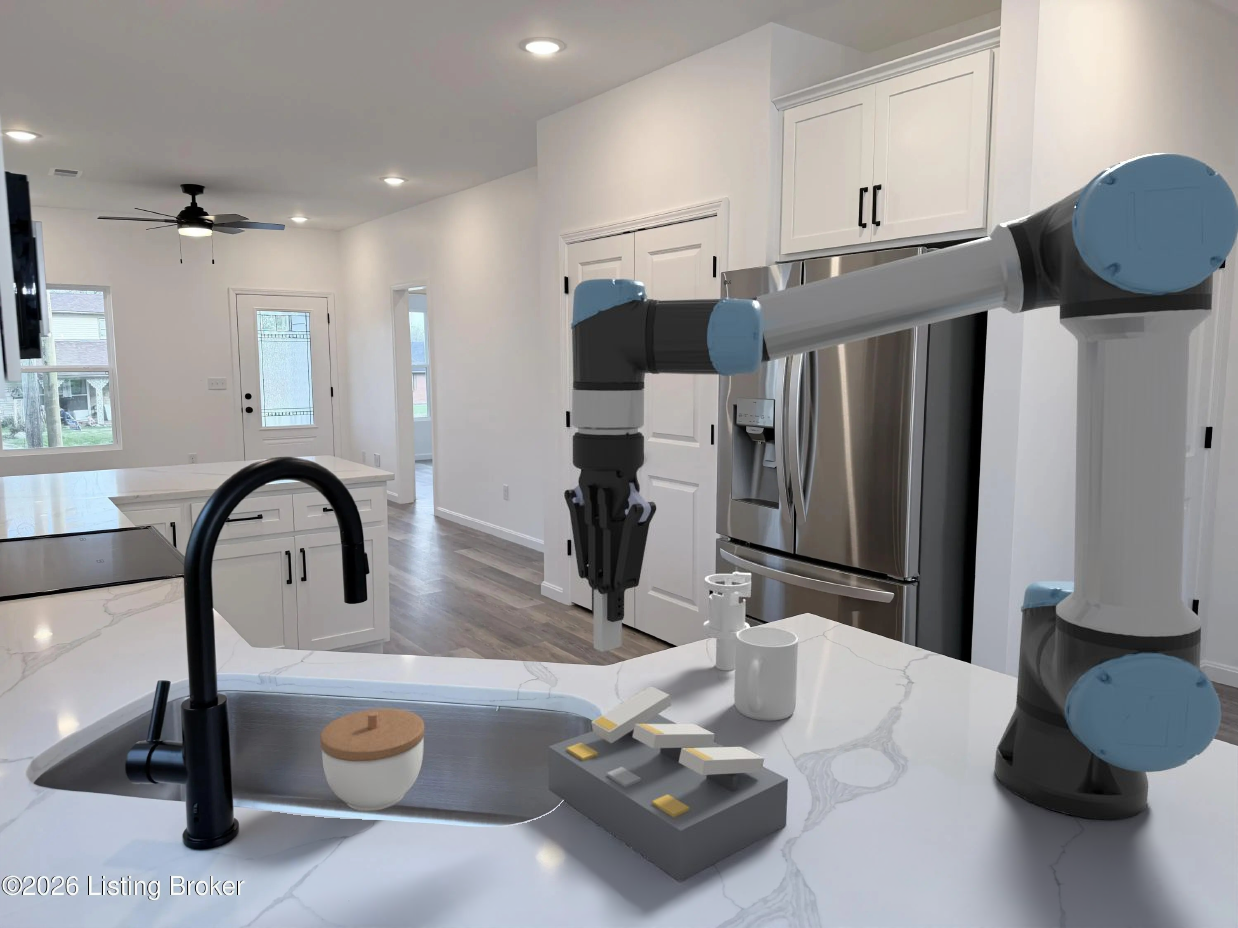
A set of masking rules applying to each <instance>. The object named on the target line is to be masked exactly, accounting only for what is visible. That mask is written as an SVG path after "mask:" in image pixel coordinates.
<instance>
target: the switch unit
mask: <svg viewBox="0 0 1238 928" xmlns="http://www.w3.org/2000/svg"><path fill="white" fill-rule="evenodd" d="M643 724H677V723H676V722H674V721H673V720H671V719H669V718H667V717H664V716H662V715H660V714H657V715H656V716H654V717H652V718H651V719H649V720H648V721H646V722H645V723H643ZM633 732H634V729H633V730H632V731H630V732H629V733H627V734H625V735H624V736H622V737H621V738H619V739H617V740H616V741H614V742H613V743H610V742H608V741H606V740H605V739H603V738H601V737H599V736H598V735H596V734H594V733H593V730H591V731H590V732H586V733H584V734H579V735H578V736H575V737H571V738H568V739H566V740H562V741H560V742H557V743H554V744H552V745H548V747H547V751H548V753H547V754H548V758H547V759H548V790H549V791H550V792H552V793H553V794H554V795H556V796H557V797H559V798H560V799H561V800H563V801H564V802H566V803H567V804H568V805H570V806H571V807H573V808H574V809H576V810H577V811H578V812H580V813H581V814H583V815H584V816H586V817H587V818H588V819H590V820H591V821H593V822H594V823H595V824H597V825H599V826H600V827H601V828H602V829H604V830H606V831H607V832H608V833H610V834H611V835H612V836H614V837H615V838H617V839H618V840H620V841H621V842H622V843H623V844H625V845H627V846H628V847H630V848H631V849H632V850H634V852H637V853H638V854H639V855H641V856H642V857H643V858H645V859H646V860H648V861H649V862H651V863H652V864H654V865H655V866H656V867H658V868H660V869H661V870H662V871H664V873H666V874H668V875H669V876H670V877H672V878H674V879H675V880H676V881H678V882H679V883H681V882H682V881H685V880H687V878H690V877H692V876H693V875H695V874H697V873H699V872H701V871H703V870H705V869H707V868H708V867H711V866H712V865H714V864H716V863H718V862H720V861H722V860H723V859H725V858H727V857H729V856H730V855H734V854H735V853H736V852H739V851H740V850H743V849H744V848H745V847H747V846H748V847H749V846H750V845H751V844H753V843H755V842H758V841H759V840H760V839H763V838H764V837H766V836H768V835H770V834H772V833H773V832H776V831H778V830H779V829H781V828H783V827H785V826H787V817H788V816H787V813H788V812H787V810H788V784H789V779H788V778H787V777H785V776H783V775H781V774H779V773H777V772H775V771H773V770H771V769H769V768H767V767H765V766H763V767H762V772H749V773H730V774H712V775H701V774H699V773H697V772H695V771H693V770H692V769H690V768H688V767H686V766H684V765H682V764H681V763H679V758H680V753H681V749H682V748H651V747H650V746H648V745H646V744H644V743H642V742H640V741H639V740H637V739H635V738H633V737H632V736H633ZM712 747H724V746H723V745H720V744H718V743H716V742H714V741H713V745H712ZM686 748H711V747H686ZM565 800H566V801H565Z"/></svg>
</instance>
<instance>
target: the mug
mask: <svg viewBox="0 0 1238 928" xmlns="http://www.w3.org/2000/svg"><path fill="white" fill-rule="evenodd" d="M798 655H799V638H798V635H796V633H794V632H792V631H790V630H786V629H784V628H779V627H771V626H752V627H751V626H750V628H745V629H742V630H740V631H738V632H737V634H736V651H735V669H734V695H733V697H734V698H733V699H734V706H735V709H736V710H737V711H738V712H739V713H740V715H741V714H742V715H743V716H745V717H747V718H750V719H754V720H757V721H765V722H766V721H769V722H772V721H774V722H775V721H782V720H784V719H788V718H789V717H790V716H792V715H793V713H794V712H795V710H796V704H797V685H798V684H797V680H798V679H797V678H798V658H799V657H798Z"/></svg>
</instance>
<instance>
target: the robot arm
mask: <svg viewBox="0 0 1238 928" xmlns="http://www.w3.org/2000/svg"><path fill="white" fill-rule="evenodd" d="M1237 237H1238V202H1237V199H1236V197H1235V194H1234V191H1233V190H1232V188H1231V187H1230V185H1229V184H1228V182H1227V181H1226V179H1225V178H1224V177H1223V176H1222V175H1221V174H1220V173H1218V172H1216V171H1215V170H1214V169H1213V168H1212V167H1210V166H1209V165H1207V164H1206V163H1204V162H1203V161H1201V160H1199V159H1196V158H1194V157H1191V156H1188V155H1183V154H1178V153H1170V152H1169V153H1167V152H1165V153H1164V152H1162V153H1158V152H1157V153H1151V154H1146V155H1145V154H1144V155H1142V156H1137V157H1135V158H1131V159H1128V160H1127V161H1126V160H1125V161H1120V162H1118V163H1117V164H1114V165H1110V167H1107V168H1106V169H1104V170H1102V171H1101V172H1099V173H1097V175H1096V176H1094V177H1093V178H1092V179H1091V180H1090V181H1089V182H1088V183H1087V184H1085V185H1084V186H1082V187H1080V188H1079V189H1077V190H1075V191H1074V192H1072V193H1070V194H1069V195H1067V196H1065V197H1064V198H1063V199H1060V200H1057V202H1054V203H1052V204H1051V205H1049V206H1047V207H1045V208H1043V209H1041V210H1039V211H1036V212H1034V213H1031V214H1029V215H1026V216H1024V217H1021V218H1018V219H1014V220H1009V221H1007V222H1002V223H999V224H997V225H996V226H995V228H994V229H993V231H992V232H991V233H990V235H988V236H986V237H983V238H979V239H976V240H971V241H968V242H963V243H960V244H959V243H958V244H956V245H952V246H948V247H944V248H940V249H937V250H932V251H929V252H925V253H921V254H918V255H913V256H910V257H905V258H901V259H898V260H894V261H891V262H886V263H882V264H878V265H874V266H871V267H867V268H862V269H859V270H855V271H851V272H847V273H843V274H839V275H835V276H831V277H827V278H824V279H820V280H816V281H813V282H812V281H811V282H808V283H804V284H800V285H796V286H792V287H789V288H788V287H787V288H783V289H781V290H778V291H777V290H776V291H773V292H770V293H766V294H761V295H757V296H754V297H749V298H745V299H744V298H743V299H742V298H741V299H740V298H739V299H738V298H732V297H723V298H706V299H705V298H701V299H695V298H694V299H671V300H670V299H666V300H660V299H653V298H648V295H647V294H646V287H645V284H644V283H643V282H641V280H637V279H630V278H629V279H628V278H617V279H616V278H595V279H587V280H584V281H581V282H579V283H578V284H577V285H576V287H575V289H574V290H573V303H572V304H573V307H572V308H573V309H572V321H571V323H570V329H571V341H572V346H571V347H572V394H571V396H572V398H571V400H572V401H571V405H572V406H571V408H572V409H571V413H572V414H571V425H572V426H573V427H574V428H576V429H577V430H578V431H577V432H574V434H573V435H572V464H573V466H574V467H575V468H576V469H578V470H580V473H579V477H578V481H577V482H578V485H577V486H575V487H574V488H573V489H572V488H571V489H566V490H564V493H563V495H564V499H565V502H566V505H567V507H568V510H569V516H570V522H571V530H572V538H573V544H574V551H575V552H574V553H575V557H576V565H577V566H576V567H577V572H578V576H579V578H580V579H585V580H587V581H588V586H589V587H590V588H591V611H592V612H591V613H592V615H593V649H595V650H597V651H599V652H602V653H603V652H606V651H611V650H614V649H617V648H621V647H622V645H623V643H622V641H623V640H622V639H623V638H622V637H623V631H622V628H623V620H624V618H625V592H626V590H628V589H633V588H635V587H638V586H639V584H640V580H641V573H642V568H643V563H644V557H645V551H646V545H647V540H648V535H649V534H648V533H649V530H650V529H649V528H650V524H651V521H652V520H653V518H654V516H655V514H656V511H657V505H656V503H655V502H654V501H646V500H645V499H644V498H643V497H642V495H641V494H640V490H641V488H640V483H639V481H638V480H639V479H638V475H637V474H638V471H639V469H640V468H642V467H643V465H644V464H645V461H644V460H645V436H644V434H643V433H642V432H640V431H639V429H641V428H643V427H644V424H645V376H646V374H654V375H659V374H671V375H672V374H674V375H675V374H676V375H678V374H679V375H715V376H716V375H721V376H723V377H728V376H736V375H752V374H753V375H754V373H757V372H758V371H759V370H760V368H761V366H762V364H765V363H767V362H770V361H775V360H779V359H784V358H787V357H792V356H796V355H797V356H798V355H801V354H804V353H809V352H815V351H818V350H822V349H827V348H831V347H835V346H840V345H845V344H849V343H852V342H857V341H861V340H866V339H871V338H875V337H879V336H883V335H887V334H891V333H895V332H896V333H897V332H901V331H904V330H908V329H909V330H910V329H913V328H917V327H921V326H922V327H923V326H926V325H929V324H935V323H940V322H943V321H948V320H951V319H956V318H960V317H964V316H968V315H973V314H977V313H981V312H987V311H990V310H995V309H998V308H1002V309H1005V310H1007V311H1008V312H1010V313H1012V314H1018V313H1020V314H1021V313H1023V312H1029V311H1032V310H1033V311H1034V310H1039V309H1043V308H1050V307H1051V308H1052V307H1053V308H1054V307H1059V324H1060V325H1062V327H1063V328H1065V329H1066V330H1067V331H1068V332H1069V333H1070V334H1071V335H1073V337H1074V338H1075V339H1076V341H1077V364H1076V365H1077V366H1076V367H1077V370H1076V371H1077V372H1076V375H1077V376H1076V377H1077V379H1076V428H1075V429H1076V432H1075V433H1076V435H1075V437H1076V441H1075V448H1076V449H1075V493H1074V495H1075V501H1074V503H1075V506H1074V508H1075V509H1074V511H1075V512H1074V559H1073V560H1074V563H1073V564H1074V565H1073V567H1074V573H1073V575H1074V576H1073V581H1070V580H1069V581H1068V580H1067V581H1066V580H1065V581H1064V580H1045V581H1044V580H1041V581H1035V582H1032V583H1031V584H1029V585H1028V586H1027V587H1026V589H1025V591H1024V596H1023V603H1022V605H1021V607H1020V611H1021V613H1022V614H1021V629H1020V643H1019V658H1018V669H1017V670H1018V674H1017V685H1016V686H1017V688H1016V689H1017V691H1016V700H1015V701H1016V702H1015V703H1016V704H1015V709H1014V711H1013V712H1012V713H1013V714H1012V715H1011V717H1010V720H1009V722H1008V724H1007V725H1006V727H1005V730H1004V733H1003V734H1002V737H1001V739H1000V740H999V743H998V745H997V747H996V751H995V759H994V760H995V761H994V772H995V775H996V777H997V778H998V780H999V781H1000V782H1001V784H1003V786H1005V787H1006V788H1008V790H1010V791H1011V792H1013V793H1014V794H1016V795H1018V796H1019V797H1021V798H1023V799H1024V800H1026V801H1029V802H1030V803H1033V804H1036V805H1038V806H1040V807H1043V808H1046V809H1049V810H1051V811H1055V812H1057V813H1058V812H1059V813H1062V814H1064V815H1065V814H1066V815H1070V816H1075V817H1081V818H1087V819H1088V818H1089V819H1095V820H1096V819H1099V820H1117V819H1125V818H1129V817H1133V816H1135V815H1138V814H1140V813H1141V812H1143V810H1145V809H1146V806H1147V803H1148V795H1149V794H1148V793H1149V779H1148V775H1147V773H1153V772H1154V773H1155V772H1162V771H1163V772H1164V771H1169V770H1172V769H1175V768H1177V767H1181V766H1183V765H1185V764H1187V763H1188V762H1189V761H1191V760H1192V759H1193V758H1194V757H1196V756H1199V755H1201V754H1202V753H1204V751H1206V749H1208V748H1209V746H1210V745H1211V743H1212V742H1213V740H1214V739H1215V737H1216V735H1217V733H1218V731H1219V728H1220V725H1221V719H1222V709H1221V707H1222V706H1221V702H1220V698H1219V695H1218V693H1217V691H1216V689H1215V687H1214V684H1213V683H1212V681H1211V679H1210V678H1209V677H1208V675H1207V674H1206V673H1204V672H1203V671H1202V669H1201V651H1202V650H1201V648H1202V647H1201V645H1202V639H1201V637H1202V619H1201V618H1200V616H1199V615H1197V614H1196V612H1194V611H1193V610H1192V609H1191V608H1190V607H1189V606H1188V605H1187V604H1186V603H1185V602H1184V601H1183V600H1182V592H1183V591H1182V587H1183V562H1184V561H1183V557H1184V554H1183V553H1184V530H1185V529H1184V525H1185V524H1184V523H1185V521H1184V520H1185V497H1186V496H1185V494H1186V493H1185V491H1186V462H1187V460H1186V459H1187V457H1186V456H1187V429H1188V426H1187V424H1188V423H1187V422H1188V395H1189V394H1188V393H1189V392H1188V391H1189V359H1190V358H1189V357H1190V337H1191V334H1192V332H1193V331H1194V330H1195V329H1196V328H1197V327H1199V325H1201V324H1202V323H1203V322H1204V321H1205V320H1206V319H1208V317H1210V315H1212V307H1213V306H1212V305H1213V285H1214V284H1213V281H1214V273H1215V272H1216V271H1217V270H1219V268H1220V267H1221V266H1222V264H1224V261H1225V260H1226V259H1227V257H1228V256H1229V255H1230V253H1231V251H1232V249H1233V247H1234V245H1235V243H1236V240H1237Z"/></svg>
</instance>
